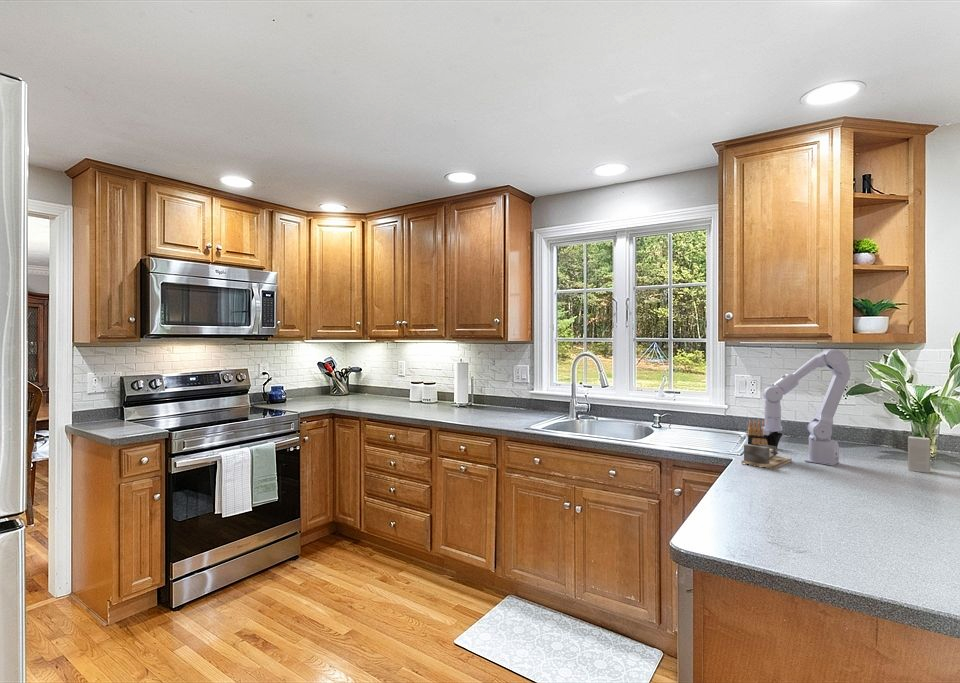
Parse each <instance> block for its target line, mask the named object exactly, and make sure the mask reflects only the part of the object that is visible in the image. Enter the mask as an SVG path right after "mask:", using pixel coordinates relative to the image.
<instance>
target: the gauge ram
mask: <svg viewBox="0 0 960 683" xmlns="http://www.w3.org/2000/svg"><path fill="white" fill-rule="evenodd" d="M759 446H765V447H769V457H771V456H773V455H774V456H777V455H779V452H777V450H776V446H769V445H762V444H759Z"/></svg>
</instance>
